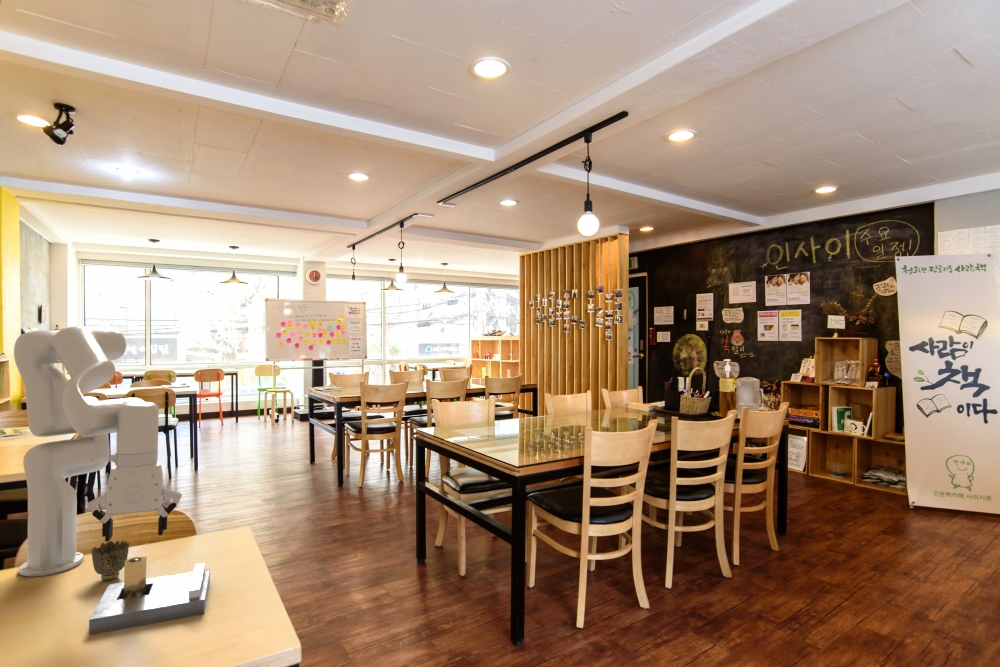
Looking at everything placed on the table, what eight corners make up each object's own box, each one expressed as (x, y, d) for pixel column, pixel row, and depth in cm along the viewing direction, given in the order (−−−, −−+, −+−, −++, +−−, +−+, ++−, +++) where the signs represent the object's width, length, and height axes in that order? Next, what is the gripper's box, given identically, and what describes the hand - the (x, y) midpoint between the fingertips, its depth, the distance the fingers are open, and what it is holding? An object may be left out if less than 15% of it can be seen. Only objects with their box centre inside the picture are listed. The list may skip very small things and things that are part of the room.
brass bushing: (125, 602, 117) (126, 557, 117) (147, 599, 119) (148, 554, 119) (121, 611, 114) (122, 564, 114) (144, 607, 115) (144, 561, 115)
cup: (108, 587, 124) (109, 553, 124) (82, 584, 126) (83, 550, 126) (136, 573, 131) (136, 541, 131) (111, 570, 133) (112, 538, 133)
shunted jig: (109, 597, 119) (109, 575, 119) (209, 581, 128) (210, 560, 128) (88, 634, 105) (89, 609, 105) (204, 613, 113) (204, 590, 113)
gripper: (83, 466, 109) (81, 548, 110) (180, 459, 117) (178, 537, 117) (93, 457, 116) (91, 535, 116) (184, 452, 124) (182, 525, 124)
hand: (135, 536), depth 117 cm, fingers open, 9 cm apart
